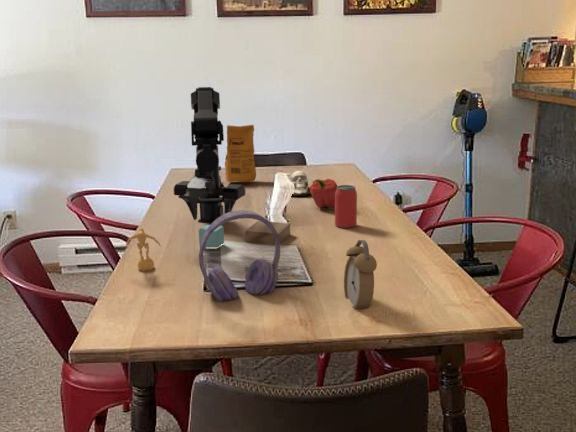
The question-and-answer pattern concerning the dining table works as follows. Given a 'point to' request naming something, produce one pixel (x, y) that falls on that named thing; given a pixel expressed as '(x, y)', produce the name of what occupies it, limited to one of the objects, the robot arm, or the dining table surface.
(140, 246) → the figurine
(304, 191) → the skull
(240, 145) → the coffee package
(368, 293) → the alarm clock
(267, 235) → the walnut block
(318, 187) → the vegetable
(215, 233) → the teal block
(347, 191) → the beer can
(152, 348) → the dining table surface
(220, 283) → the headphones
